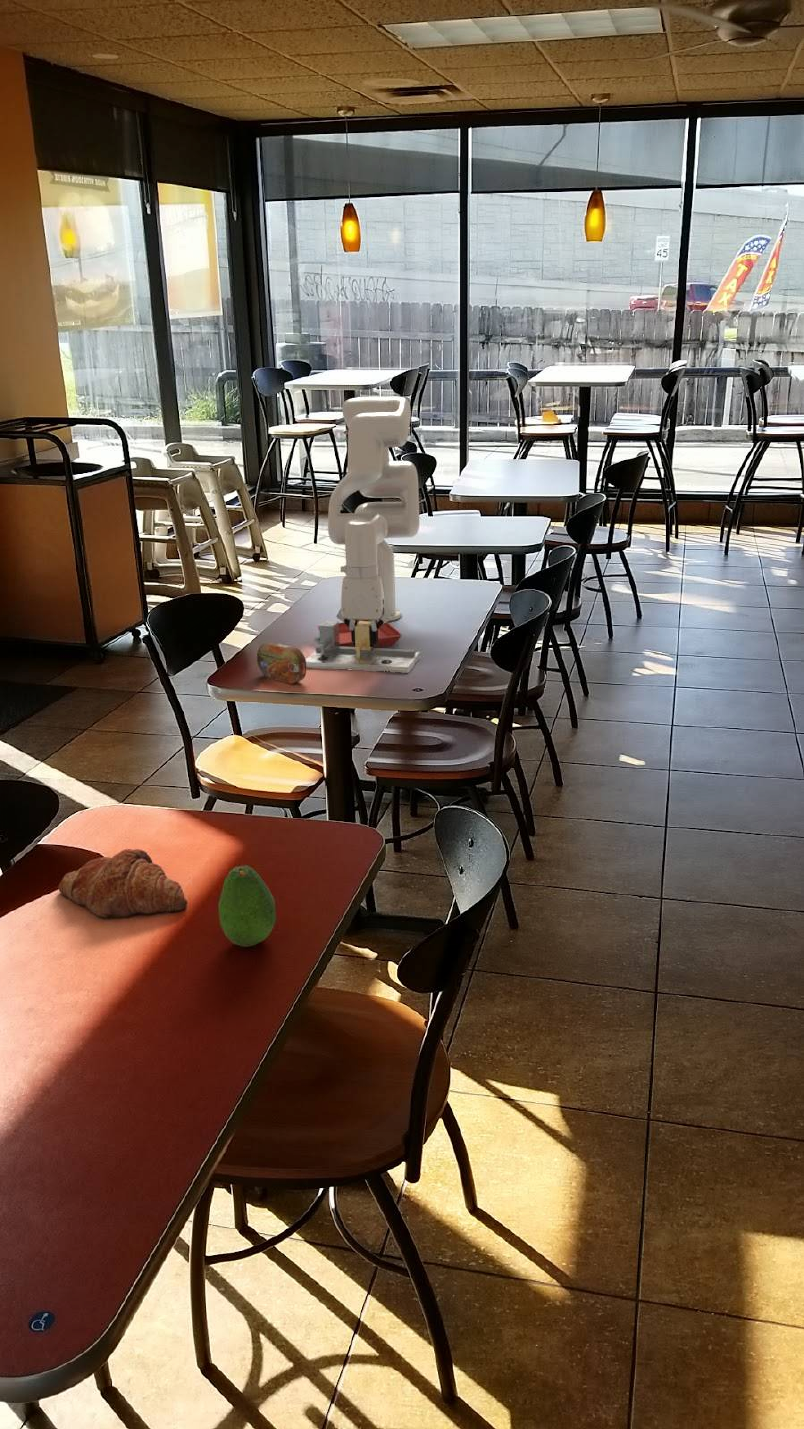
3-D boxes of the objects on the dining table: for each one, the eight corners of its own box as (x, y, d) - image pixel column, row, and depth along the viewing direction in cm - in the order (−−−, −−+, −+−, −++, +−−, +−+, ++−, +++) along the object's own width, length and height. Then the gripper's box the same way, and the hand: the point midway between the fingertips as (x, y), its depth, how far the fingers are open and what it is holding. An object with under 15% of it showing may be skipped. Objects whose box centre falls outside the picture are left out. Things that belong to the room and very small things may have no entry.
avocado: (211, 952, 158) (203, 875, 154) (238, 924, 165) (232, 849, 160) (262, 962, 155) (256, 884, 151) (288, 933, 162) (283, 858, 158)
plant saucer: (335, 656, 286) (334, 643, 285) (316, 637, 302) (315, 625, 301) (403, 647, 291) (403, 634, 290) (381, 629, 307) (381, 617, 306)
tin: (257, 674, 273) (254, 641, 270) (267, 671, 275) (264, 638, 272) (299, 687, 263) (297, 652, 260) (309, 684, 265) (307, 649, 262)
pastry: (72, 939, 163) (65, 889, 160) (58, 891, 176) (51, 844, 173) (189, 912, 169) (184, 864, 166) (166, 867, 182) (161, 822, 179)
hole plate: (319, 653, 287) (317, 619, 284) (419, 657, 281) (418, 623, 278) (303, 667, 276) (301, 633, 273) (408, 673, 270) (407, 637, 267)
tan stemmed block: (360, 648, 283) (359, 621, 281) (374, 649, 282) (373, 621, 280) (350, 658, 275) (349, 630, 273) (365, 659, 275) (364, 631, 272)
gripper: (324, 574, 272) (328, 648, 279) (391, 576, 268) (394, 651, 275) (333, 567, 279) (337, 639, 286) (399, 569, 275) (401, 642, 282)
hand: (365, 644), depth 280 cm, fingers closed on tan stemmed block, 3 cm apart
